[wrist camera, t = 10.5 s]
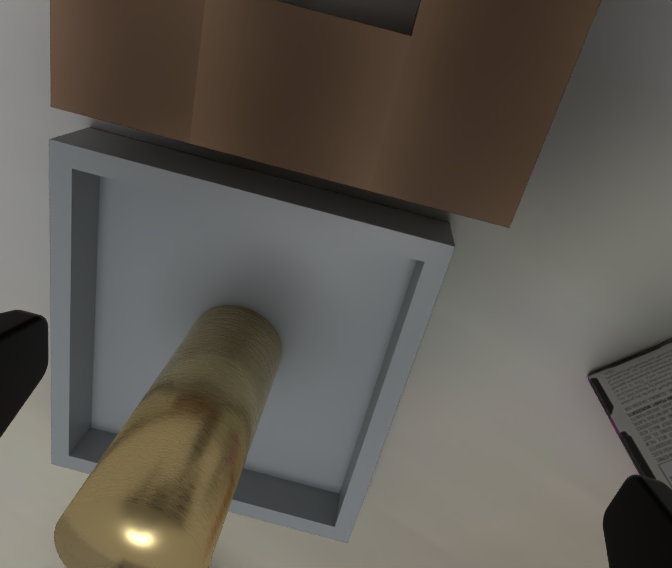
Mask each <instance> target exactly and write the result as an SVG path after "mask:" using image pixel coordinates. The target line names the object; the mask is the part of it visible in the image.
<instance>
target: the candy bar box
mask: <svg viewBox="0 0 672 568" xmlns="http://www.w3.org/2000/svg"><path fill="white" fill-rule="evenodd" d="M588 380H589V382H590V384H591V386H592V388H593V390H594V392H595V393H596V395H597V397H598V399H599V401H600V403H601V405H602V406H603V408H604V410H605V412H606V414H607V416H608V418H609V419H610V421H611V423H612V425H613V427H614V429H615V431H616V432H617V434H618V436H619V438H620V440H621V442H622V444H623V445H624V447H625V449H626V451H627V453H628V455H629V457H630V458H631V460H632V462H633V464H634V466H635V468H636V469H637V471H638V473H639V475H641V476H645V477H648V478H652V479H656V480H659V481H661V482H663V483H665V484H666V485H667V486H668V487H669V488H671V489H672V339H670V340H668V341H666V342H664V343H662V344H660V345H658V346H656V347H654V348H652V349H650V350H648V351H646V352H644V353H641V354H639V355H637V356H634V357H632V358H629V359H627V360H624V361H622V362H619V363H617V364H614V365H612V366H609V367H607V368H605V369H603V370H601V371H599V372H596V373H594V374H592V375H590V376H589V377H588Z"/></svg>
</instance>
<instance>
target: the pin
mask: <svg viewBox="0 0 672 568" xmlns="http://www.w3.org/2000/svg"><path fill="white" fill-rule="evenodd" d="M281 359H282V343H281V340H280V337H279V335H278V333H277V331H276V329H275V328H274V327H273V325H272V324H271V323H270V322H269V321H268V320H267V319H266V318H265V317H263V316H262V315H260V314H259V313H257V312H255V311H253V310H251V309H248V308H245V307H241V306H236V305H223V306H218V307H215V308H212V309H210V310H208V311H206V312H205V313H203V314H202V315H201V316H200V317H199V318H198V319H197V320H196V322H195V323H194V325H193V326H192V327H191V329H190V330H189V332H188V333H187V335H186V336H185V338H184V339H183V340H182V342H181V343H180V345H179V346H178V348H177V349H176V351H175V352H174V354H173V355H172V356H171V358H170V359H169V361H168V362H167V364H166V365H165V367H164V368H163V369H162V371H161V372H160V374H159V375H158V377H157V378H156V380H155V381H154V383H153V384H152V385H151V387H150V388H149V390H148V391H147V393H146V394H145V396H144V397H143V398H142V400H141V401H140V403H139V404H138V406H137V407H136V409H135V410H134V412H133V413H132V414H131V416H130V417H129V419H128V420H127V422H126V423H125V425H124V426H123V427H122V429H121V430H120V432H119V433H118V435H117V436H116V438H115V439H114V440H113V442H112V443H111V445H110V446H109V448H108V449H107V451H106V452H105V454H104V455H103V456H102V458H101V459H100V461H99V462H98V464H97V465H96V467H95V468H94V469H93V471H92V472H91V474H90V475H89V477H88V478H87V480H86V481H85V483H84V484H83V485H82V487H81V488H80V490H79V491H78V493H77V494H76V496H75V497H74V498H73V500H72V501H71V503H70V504H69V506H68V507H67V509H66V510H65V511H64V513H63V514H62V516H61V517H60V519H59V520H58V522H57V524H56V527H55V531H54V541H55V546H56V549H57V552H58V554H59V556H60V558H61V560H62V561H63V563H64V564H65V566H66V567H67V568H208V566H209V563H210V561H211V558H212V555H213V552H214V549H215V546H216V544H217V541H218V538H219V535H220V532H221V529H222V527H223V524H224V521H225V518H226V515H227V512H228V510H229V507H230V504H231V501H232V498H233V495H234V493H235V490H236V487H237V484H238V481H239V479H240V476H241V473H242V470H243V467H244V464H245V462H246V459H247V456H248V453H249V450H250V447H251V445H252V442H253V439H254V436H255V433H256V430H257V428H258V425H259V422H260V419H261V416H262V413H263V411H264V408H265V405H266V402H267V399H268V396H269V394H270V391H271V388H272V385H273V382H274V379H275V377H276V374H277V371H278V368H279V365H280V362H281Z"/></svg>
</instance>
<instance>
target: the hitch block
mask: <svg viewBox="0 0 672 568" xmlns="http://www.w3.org/2000/svg"><path fill="white" fill-rule="evenodd" d="M600 3H601V0H420V1H419V5H418V9H417V13H416V16H415V20H414V24H413V27H412V31H411V35H410V36H409V35H405V34H401V33H397V32H394V31H390V30H386V29H382V28H378V27H375V26H371V25H367V24H363V23H359V22H356V21H352V20H348V19H344V18H340V17H337V16H333V15H329V14H325V13H321V12H318V11H314V10H310V9H306V8H302V7H299V6H295V5H291V4H287V3H283V2H280V1H276V0H50V70H51V107H54V108H58V109H61V110H65V111H69V112H73V113H76V114H80V115H84V116H88V117H92V118H95V119H99V120H103V121H107V122H110V123H114V124H118V125H122V126H126V127H129V128H133V129H137V130H141V131H144V132H148V133H152V134H156V135H160V136H163V137H167V138H171V139H175V140H179V141H182V142H186V143H190V144H194V145H197V146H201V147H205V148H209V149H213V150H216V151H220V152H224V153H228V154H231V155H235V156H239V157H243V158H247V159H250V160H254V161H258V162H262V163H265V164H269V165H273V166H277V167H281V168H284V169H288V170H292V171H296V172H299V173H303V174H307V175H311V176H315V177H318V178H322V179H326V180H330V181H333V182H337V183H341V184H345V185H349V186H352V187H356V188H360V189H364V190H367V191H371V192H375V193H379V194H383V195H386V196H390V197H394V198H398V199H402V200H405V201H409V202H413V203H417V204H420V205H424V206H428V207H432V208H436V209H439V210H443V211H447V212H451V213H454V214H458V215H462V216H466V217H470V218H473V219H477V220H481V221H485V222H488V223H492V224H496V225H500V226H504V227H507V228H509V227H510V225H511V222H512V220H513V217H514V215H515V213H516V210H517V208H518V205H519V203H520V200H521V198H522V195H523V193H524V190H525V188H526V185H527V183H528V180H529V178H530V176H531V173H532V171H533V168H534V166H535V163H536V161H537V158H538V156H539V153H540V151H541V148H542V146H543V143H544V141H545V139H546V136H547V134H548V131H549V129H550V126H551V124H552V121H553V119H554V116H555V114H556V111H557V109H558V106H559V104H560V102H561V99H562V97H563V94H564V92H565V89H566V87H567V84H568V82H569V79H570V77H571V74H572V72H573V69H574V67H575V65H576V62H577V60H578V57H579V55H580V52H581V50H582V47H583V45H584V42H585V40H586V37H587V35H588V33H589V30H590V28H591V25H592V23H593V20H594V18H595V15H596V13H597V10H598V8H599V5H600Z"/></svg>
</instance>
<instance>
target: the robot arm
mask: <svg viewBox="0 0 672 568" xmlns="http://www.w3.org/2000/svg"><path fill="white" fill-rule="evenodd" d="M47 365H48V323H47V320H46V319H45V318H44V317H43V316H41V315H38V314H34V313H30V312H26V311H23V310H12V311H8V312H4V313H0V437H1V436H2V435H3V433H4V432H5V430H6V429H7V427H8V426H9V425H10V423H11V422H12V420H13V419H14V417H15V416H16V415H17V413H18V412H19V410H20V409H21V407H22V406H23V405H24V403H25V402H26V400H27V399H28V397H29V396H30V395H31V393H32V392H33V390H34V389H35V387H36V386H37V385H38V383H39V382H40V380H41V379H42V377H43V376H44V374H45V372H46V369H47ZM603 531H604V537H605V543H606V549H607V556H608V562H609V568H672V489H671V488H669V487H668V486H667V485H666V484H665V483H663V482H661V481H659V480H656V479H652V478H648V477H645V476H641V475H631V476H630V477H628V478H627V479H626V480H625V482H624V483H623V485H622V486H621V488H620V489H619V491H618V492H617V494H616V495H615V497H614V498H613V500H612V501H611V503H610V504H609V506H608V507H607V509H606V511H605V514H604V518H603Z"/></svg>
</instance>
